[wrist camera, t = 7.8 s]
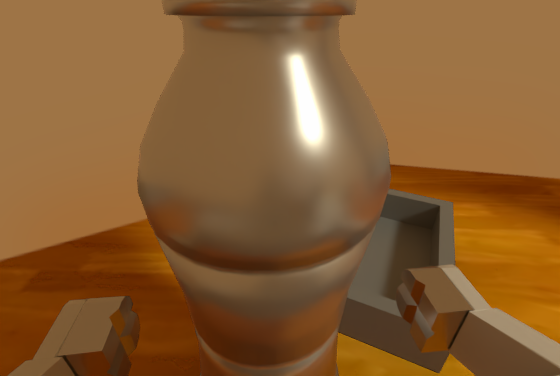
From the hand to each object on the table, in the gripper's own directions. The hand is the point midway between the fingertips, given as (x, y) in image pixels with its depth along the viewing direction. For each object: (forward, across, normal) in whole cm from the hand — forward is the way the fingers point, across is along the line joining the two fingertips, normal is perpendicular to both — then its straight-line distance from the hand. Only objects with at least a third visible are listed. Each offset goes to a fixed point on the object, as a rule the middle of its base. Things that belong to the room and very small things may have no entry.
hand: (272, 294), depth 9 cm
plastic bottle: (+1, 0, +11) cm, 11 cm away
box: (+12, -8, +11) cm, 18 cm away
